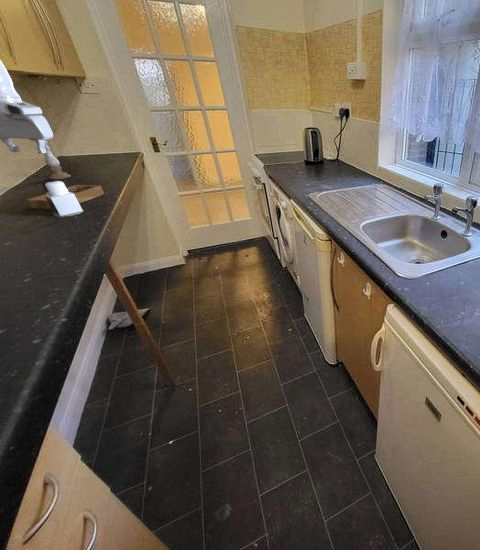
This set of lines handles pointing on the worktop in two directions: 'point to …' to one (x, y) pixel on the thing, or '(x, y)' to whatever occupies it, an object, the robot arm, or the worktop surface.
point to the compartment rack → (79, 191)
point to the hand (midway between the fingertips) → (29, 152)
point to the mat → (68, 214)
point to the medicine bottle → (61, 198)
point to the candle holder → (53, 164)
